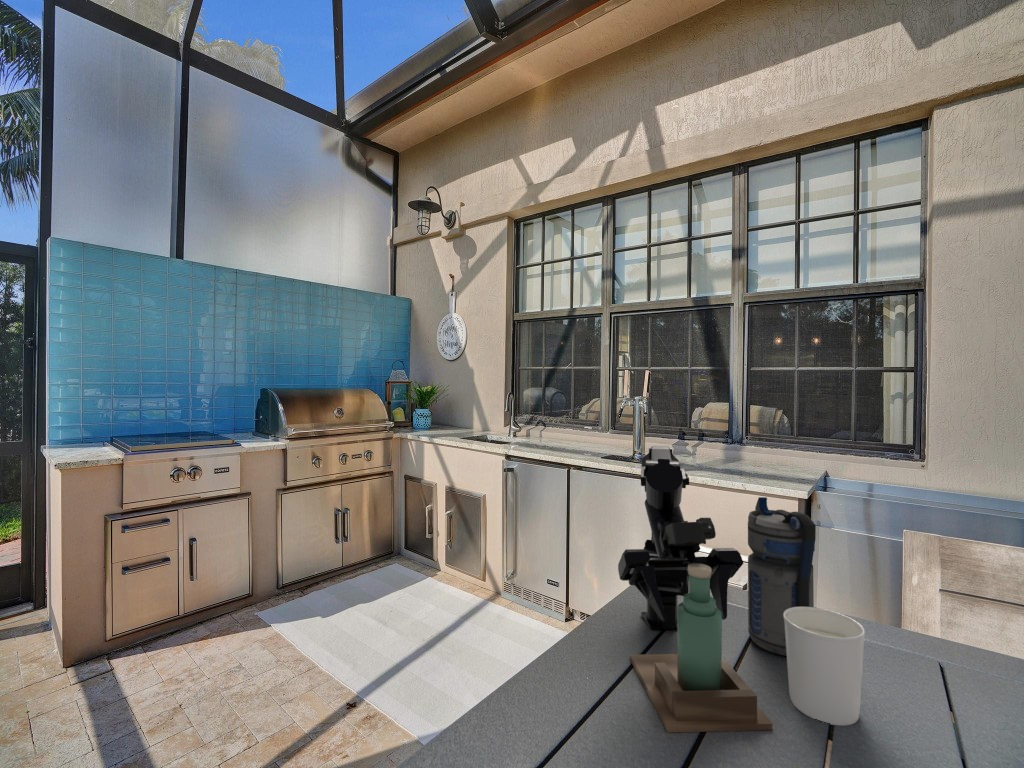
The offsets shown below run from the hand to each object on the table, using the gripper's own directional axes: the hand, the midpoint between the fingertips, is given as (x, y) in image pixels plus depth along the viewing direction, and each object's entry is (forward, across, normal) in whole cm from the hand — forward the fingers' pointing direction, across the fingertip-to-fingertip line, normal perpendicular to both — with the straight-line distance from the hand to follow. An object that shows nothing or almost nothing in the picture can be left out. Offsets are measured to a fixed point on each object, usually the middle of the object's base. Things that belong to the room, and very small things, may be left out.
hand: (694, 619), depth 73 cm
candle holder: (+11, +17, +5) cm, 20 cm away
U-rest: (+7, 0, +8) cm, 11 cm away
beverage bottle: (-1, +21, +16) cm, 26 cm away
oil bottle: (+8, 0, +6) cm, 10 cm away
